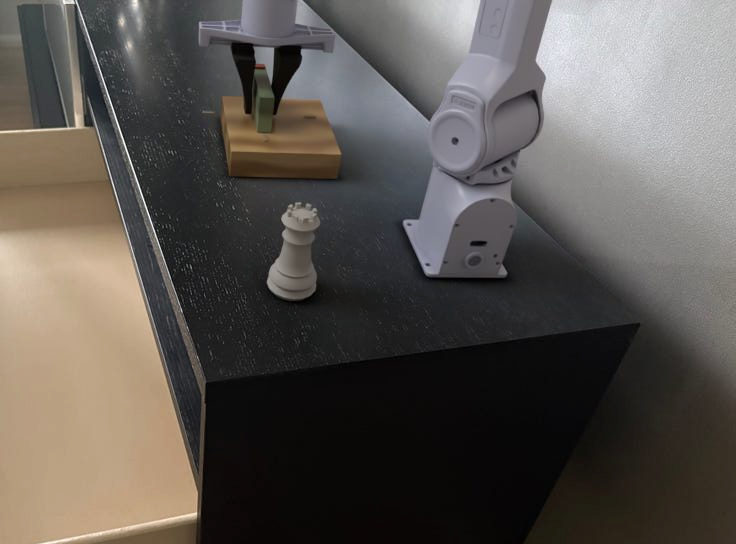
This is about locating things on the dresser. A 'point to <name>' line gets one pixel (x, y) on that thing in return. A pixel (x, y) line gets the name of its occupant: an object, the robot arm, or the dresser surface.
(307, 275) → the rook chess piece
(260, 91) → the green flat block
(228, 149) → the base
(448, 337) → the dresser surface
